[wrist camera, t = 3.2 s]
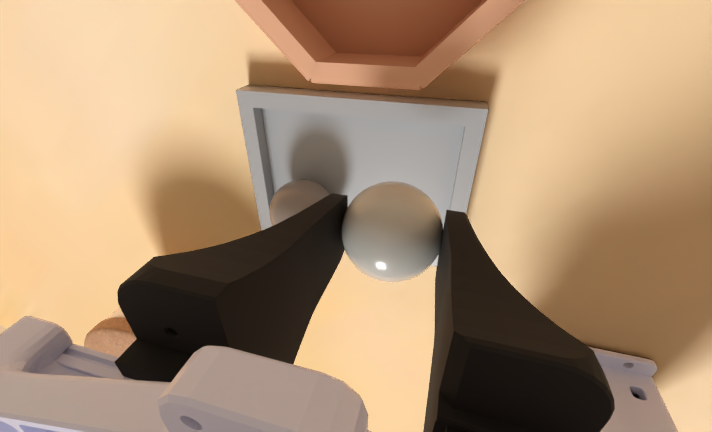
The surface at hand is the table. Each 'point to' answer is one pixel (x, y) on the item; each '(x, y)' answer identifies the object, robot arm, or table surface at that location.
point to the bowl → (376, 36)
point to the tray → (360, 143)
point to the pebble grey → (392, 231)
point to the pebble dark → (295, 199)
